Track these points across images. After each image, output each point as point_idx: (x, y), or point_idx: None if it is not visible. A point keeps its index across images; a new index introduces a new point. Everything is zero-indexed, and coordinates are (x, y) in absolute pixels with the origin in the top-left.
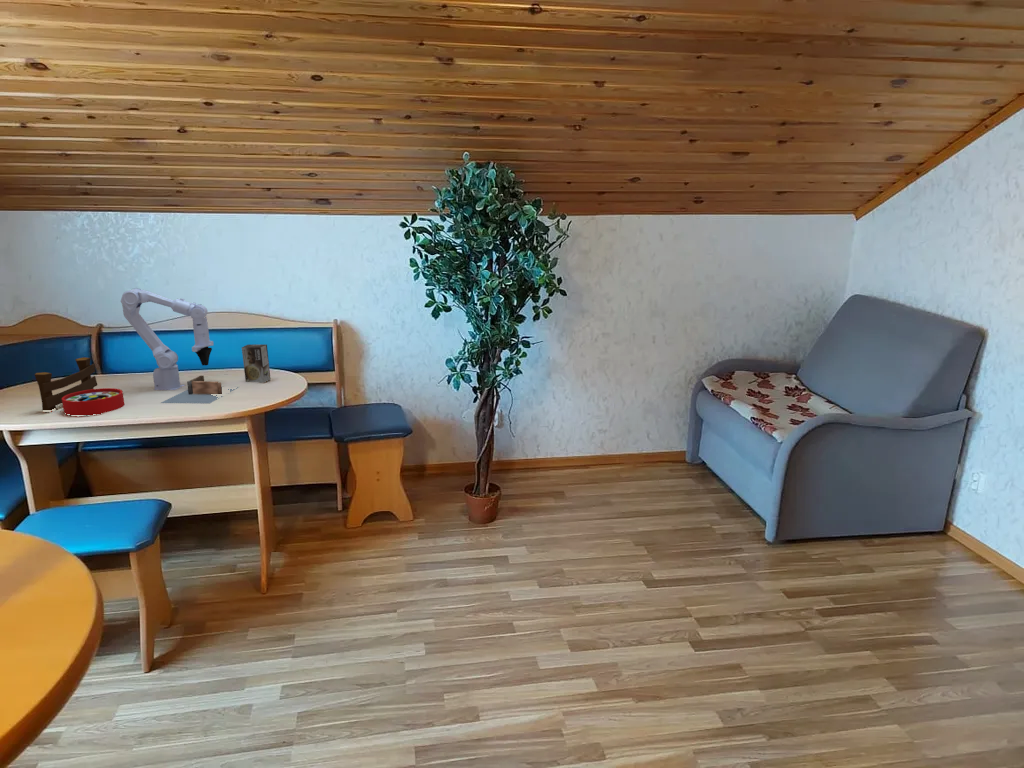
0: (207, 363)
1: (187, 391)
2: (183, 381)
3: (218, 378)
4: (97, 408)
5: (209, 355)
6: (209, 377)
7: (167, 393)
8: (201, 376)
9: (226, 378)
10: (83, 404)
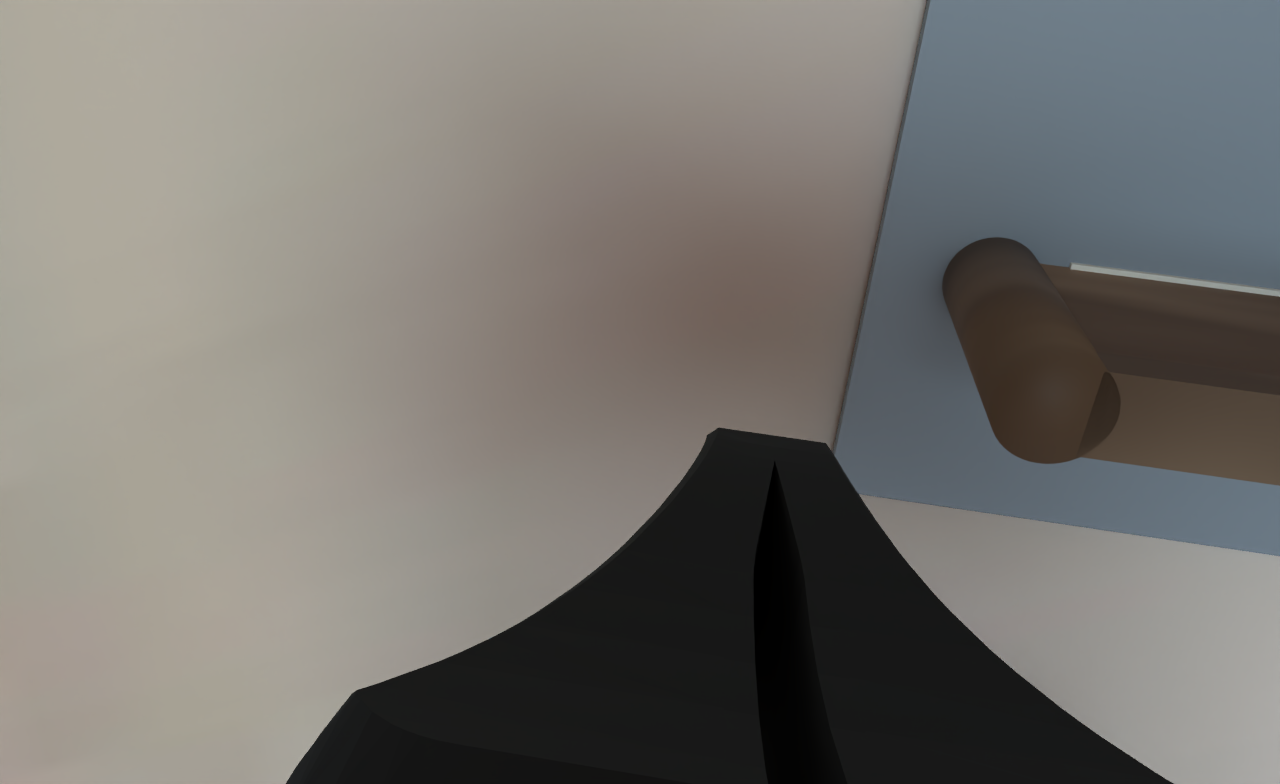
0: (798, 454)
1: (1260, 484)
2: None
3: (81, 259)
4: None
5: (617, 580)
6: (43, 451)
7: (1211, 760)
8: (1126, 387)
9: (48, 84)
10: None
